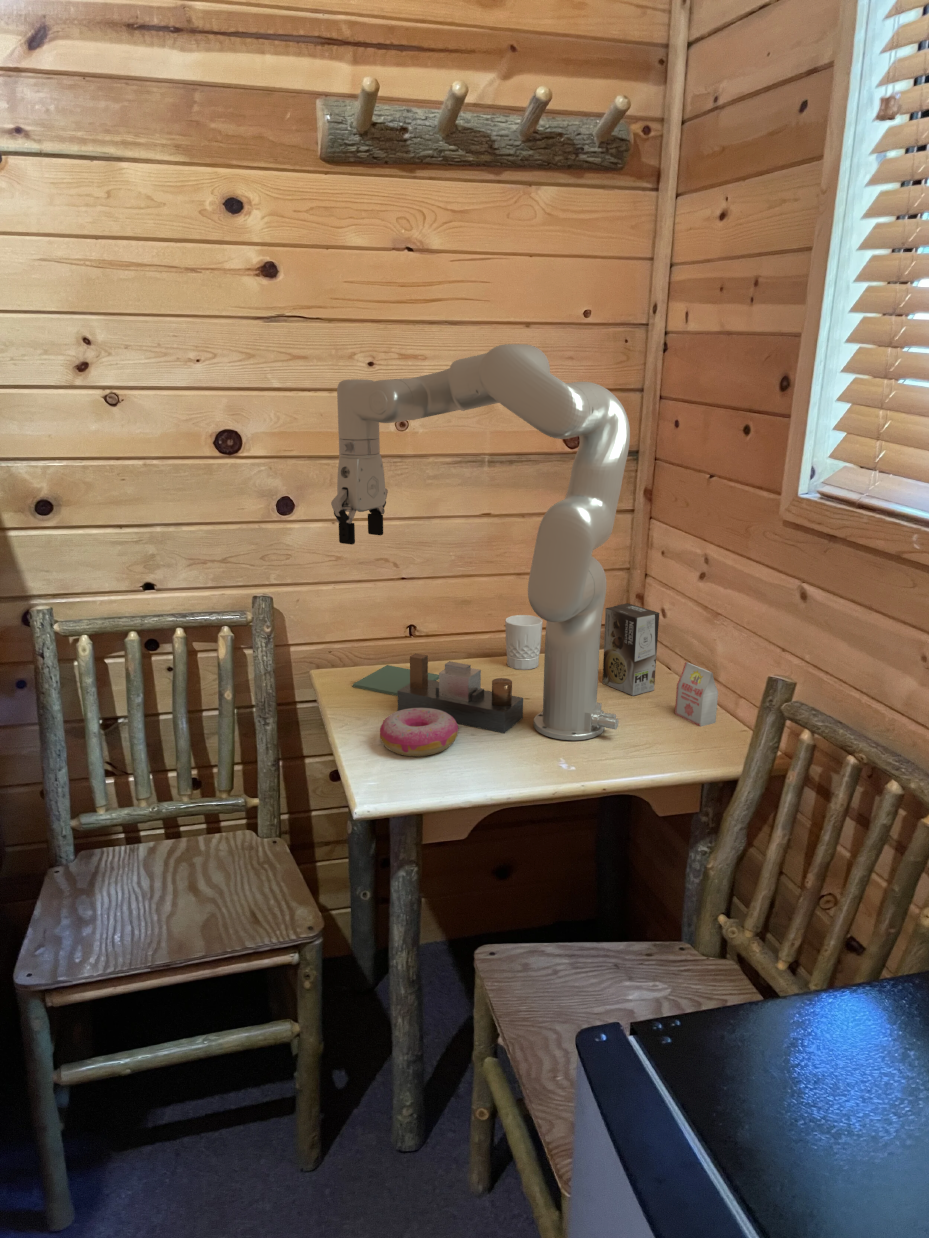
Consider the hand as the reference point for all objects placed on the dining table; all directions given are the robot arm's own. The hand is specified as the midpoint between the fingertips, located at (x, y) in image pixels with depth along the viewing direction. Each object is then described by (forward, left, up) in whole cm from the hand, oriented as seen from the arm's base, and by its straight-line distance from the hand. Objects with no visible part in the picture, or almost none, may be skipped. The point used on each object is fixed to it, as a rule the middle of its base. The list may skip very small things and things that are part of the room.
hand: (361, 539), depth 176 cm
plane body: (-23, +4, -30) cm, 38 cm away
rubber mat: (-4, -5, -30) cm, 31 cm away
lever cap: (-23, +4, -26) cm, 35 cm away
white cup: (-22, -27, -30) cm, 46 cm away
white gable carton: (-62, -15, -30) cm, 71 cm away
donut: (-23, +19, -31) cm, 42 cm away
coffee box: (-46, -25, -30) cm, 61 cm away
